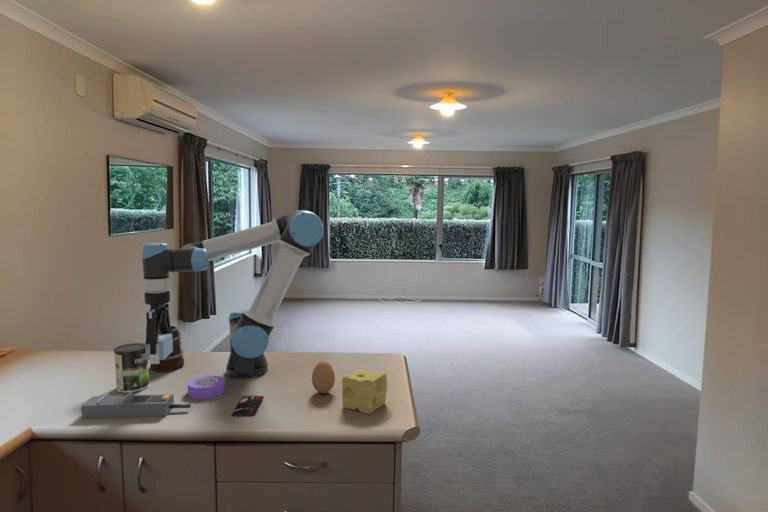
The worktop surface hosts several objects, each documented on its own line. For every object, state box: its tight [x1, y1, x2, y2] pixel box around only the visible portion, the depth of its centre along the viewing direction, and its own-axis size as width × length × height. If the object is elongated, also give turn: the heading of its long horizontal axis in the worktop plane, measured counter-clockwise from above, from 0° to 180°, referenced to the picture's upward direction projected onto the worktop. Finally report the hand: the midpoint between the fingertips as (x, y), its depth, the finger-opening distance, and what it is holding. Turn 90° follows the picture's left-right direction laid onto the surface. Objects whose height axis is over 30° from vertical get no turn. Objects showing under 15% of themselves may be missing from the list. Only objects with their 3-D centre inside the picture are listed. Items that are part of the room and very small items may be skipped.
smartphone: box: [230, 395, 265, 418], centre depth 160 cm, size 7×1×15 cm
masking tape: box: [187, 375, 226, 400], centre depth 171 cm, size 12×12×4 cm
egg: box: [311, 360, 336, 394], centre depth 170 cm, size 8×8×11 cm
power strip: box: [80, 392, 192, 420], centre depth 155 cm, size 30×7×5 cm, turn 95°
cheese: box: [341, 368, 388, 415], centre depth 160 cm, size 10×11×10 cm
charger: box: [144, 334, 173, 361], centre depth 167 cm, size 6×9×6 cm, turn 5°
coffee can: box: [113, 342, 150, 394], centre depth 174 cm, size 10×10×14 cm
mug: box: [149, 325, 185, 372], centre depth 197 cm, size 16×12×15 cm
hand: (160, 358), depth 167 cm, fingers closed on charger, 9 cm apart
